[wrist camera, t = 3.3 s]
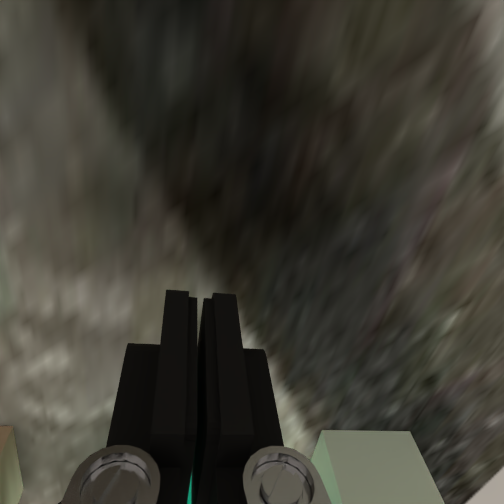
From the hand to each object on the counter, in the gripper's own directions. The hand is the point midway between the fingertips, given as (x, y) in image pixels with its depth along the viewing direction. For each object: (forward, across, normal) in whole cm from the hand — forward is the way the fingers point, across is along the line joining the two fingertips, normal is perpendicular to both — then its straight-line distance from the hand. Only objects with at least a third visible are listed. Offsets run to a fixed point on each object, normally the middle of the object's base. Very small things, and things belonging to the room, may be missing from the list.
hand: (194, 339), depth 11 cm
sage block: (+5, -9, +12) cm, 15 cm away
